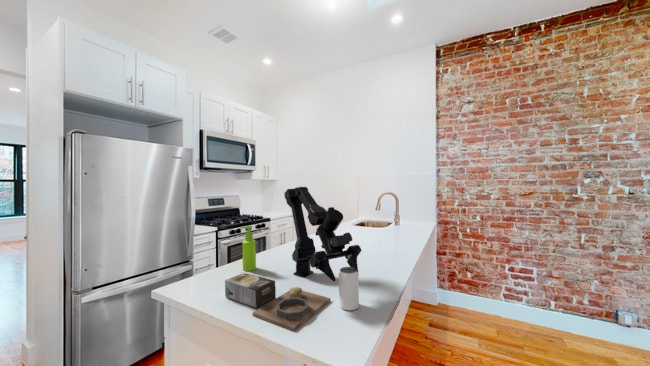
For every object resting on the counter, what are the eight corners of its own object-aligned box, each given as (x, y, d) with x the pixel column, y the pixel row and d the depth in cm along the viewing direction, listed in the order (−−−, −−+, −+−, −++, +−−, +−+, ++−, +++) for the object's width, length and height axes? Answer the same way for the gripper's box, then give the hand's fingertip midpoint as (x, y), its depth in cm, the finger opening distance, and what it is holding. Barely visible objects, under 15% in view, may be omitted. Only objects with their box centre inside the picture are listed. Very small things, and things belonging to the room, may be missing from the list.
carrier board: (293, 290, 95) (293, 281, 95) (330, 301, 87) (330, 291, 87) (252, 315, 78) (252, 304, 78) (293, 331, 70) (293, 319, 70)
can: (358, 312, 79) (357, 274, 79) (337, 310, 81) (337, 272, 80) (359, 302, 86) (359, 267, 86) (340, 300, 87) (340, 265, 87)
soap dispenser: (242, 267, 122) (241, 225, 121) (257, 266, 122) (256, 225, 122) (239, 271, 116) (238, 227, 116) (254, 270, 116) (254, 227, 116)
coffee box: (244, 271, 98) (276, 279, 89) (244, 288, 98) (276, 297, 90) (224, 279, 90) (256, 289, 82) (224, 297, 90) (257, 309, 82)
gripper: (313, 228, 84) (331, 271, 74) (358, 222, 93) (379, 260, 84) (303, 246, 91) (318, 288, 81) (345, 240, 100) (364, 276, 91)
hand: (346, 278), depth 84 cm, fingers open, 9 cm apart
